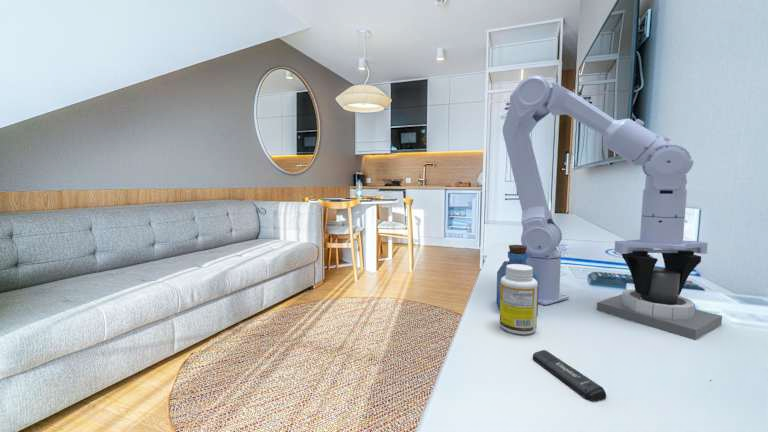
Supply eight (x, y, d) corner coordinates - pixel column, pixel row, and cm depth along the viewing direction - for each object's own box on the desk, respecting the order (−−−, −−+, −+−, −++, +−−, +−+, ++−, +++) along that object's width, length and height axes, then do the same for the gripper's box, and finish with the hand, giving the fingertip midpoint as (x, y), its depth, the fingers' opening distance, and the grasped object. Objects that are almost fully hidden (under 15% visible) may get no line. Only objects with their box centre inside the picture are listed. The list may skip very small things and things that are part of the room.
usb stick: (530, 361, 44) (530, 349, 44) (546, 358, 45) (547, 347, 45) (588, 405, 35) (589, 392, 35) (609, 402, 36) (609, 388, 36)
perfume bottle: (537, 316, 59) (540, 249, 58) (500, 314, 60) (502, 248, 59) (529, 304, 65) (531, 244, 64) (496, 302, 66) (498, 243, 65)
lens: (654, 309, 55) (658, 274, 55) (632, 298, 60) (635, 266, 60) (684, 309, 55) (688, 275, 54) (660, 298, 60) (664, 266, 59)
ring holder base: (596, 310, 61) (597, 291, 61) (626, 300, 67) (627, 283, 67) (695, 339, 49) (697, 317, 49) (721, 324, 55) (723, 304, 55)
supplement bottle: (513, 319, 57) (515, 261, 56) (543, 330, 53) (546, 267, 52) (492, 326, 54) (493, 265, 53) (522, 339, 50) (524, 272, 49)
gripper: (638, 218, 53) (632, 301, 54) (728, 218, 53) (721, 301, 54) (608, 215, 60) (604, 288, 61) (688, 215, 60) (682, 288, 61)
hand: (657, 293), depth 58 cm, fingers closed on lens, 5 cm apart
